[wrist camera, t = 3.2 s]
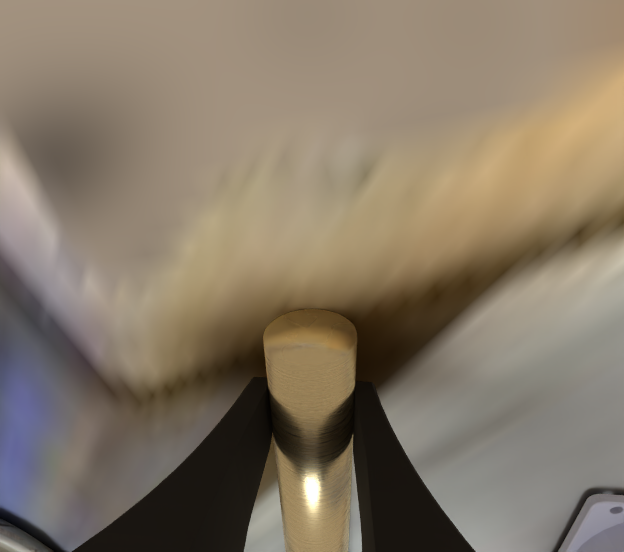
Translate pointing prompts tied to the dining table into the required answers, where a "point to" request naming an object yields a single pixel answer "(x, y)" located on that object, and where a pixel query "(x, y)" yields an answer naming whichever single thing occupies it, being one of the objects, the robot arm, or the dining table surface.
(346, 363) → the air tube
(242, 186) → the dining table surface
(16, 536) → the salad plate
